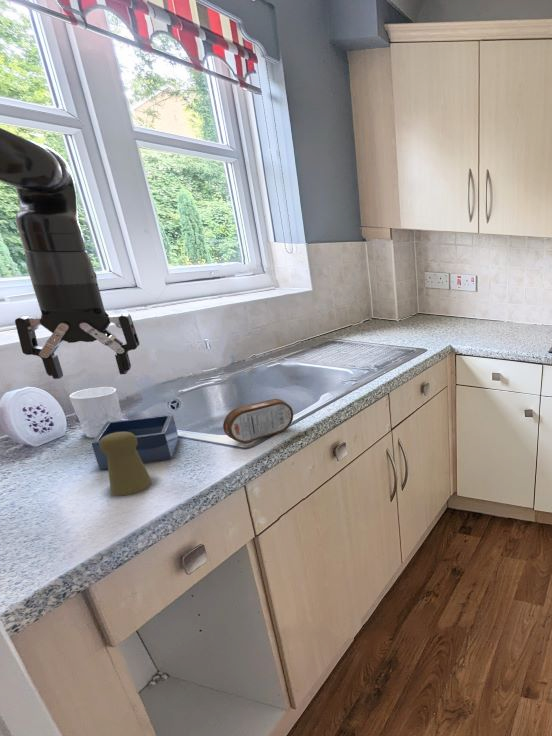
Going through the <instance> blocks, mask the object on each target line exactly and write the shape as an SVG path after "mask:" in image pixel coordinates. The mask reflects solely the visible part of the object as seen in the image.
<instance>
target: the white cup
mask: <svg viewBox="0 0 552 736" xmlns="http://www.w3.org/2000/svg"><path fill="white" fill-rule="evenodd" d="M68 397H69V399H70V401H71V404H72V407H73V409H74V412H75V414H76V416H77V419H78V421H79V423H80V426H82V429H83V431H84V434H85V436H86V437H87V438H90V439H91V438H92V439H95V438H96V436H97V435H98V433H99V432H100V431H101V429H102V428H103V426H104V425H105V424H106V422H112V421H120V420H123V414H122V409H121V405H120V404H121V403H120V399H119V395H118V391H117V388H115V387H113V386H112V387H111V386H98V387H90V388H85V389H81V390H77V391H75V392H72V393H70V394H69V396H68Z"/></svg>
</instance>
